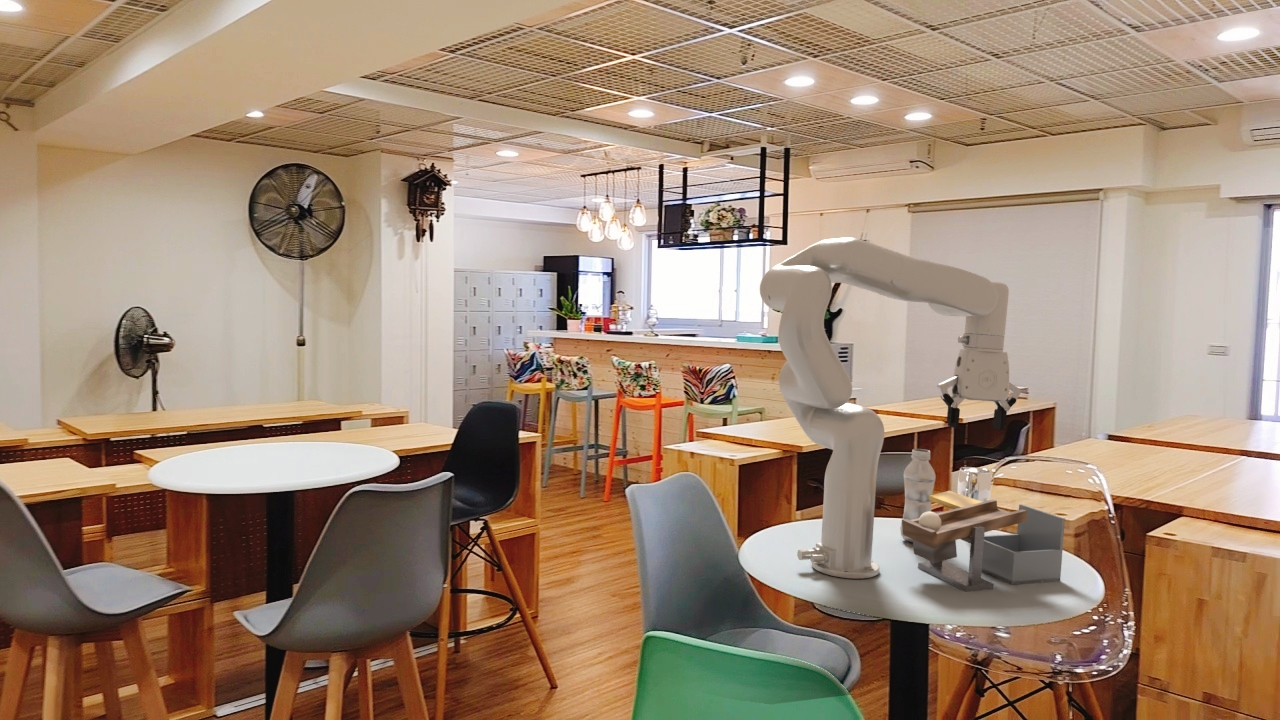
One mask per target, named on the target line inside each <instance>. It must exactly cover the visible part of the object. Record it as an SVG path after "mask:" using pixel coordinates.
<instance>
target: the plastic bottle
mask: <svg viewBox="0 0 1280 720" xmlns="http://www.w3.org/2000/svg"><path fill="white" fill-rule="evenodd" d="M910 457H911V459H912V460H911V461H910V462H909V463H908V465H906V467H905V469H904V471H903V484H904V485H903V486H904V497H905V498H904V508H903V516H902V519H908V520H913V519H917V518H920V516H921V515H922V514H923V513H925V512H929V511H930V512H932V501H930V500H929V495H933V491H934V488H935V482H936V477H937V476H936V473H935V470H934V468H933V467H932V465H931V463H930V462H929V461H930V460H931V451H930V449H929V450H928V449H922V448H914V449H912V451H911V455H910ZM899 529H900V535H901V537H902V539H903V540H905V541H907V542H910V543H913V539H911V538H909V537H907V536H904V535H903V529H902V521H901V523H900V528H899Z"/></svg>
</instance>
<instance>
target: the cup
mask: <svg viewBox="0 0 1280 720" xmlns="http://www.w3.org/2000/svg"><path fill="white" fill-rule="evenodd" d="M1018 505H1019V506H1018V510H1022V509H1023V510H1026V511H1027V521H1025V522H1022V523H1018V524H1017V532H1016V533H1012V534H1010V533H1009V534H995V535H994V534H992V535H985V536H984V545H983V559H982V572H983V573H984V574H986V575H987V574H988V575H990V576H992V577H994V578H996V579H998V580H1000V581H1002V582H1005V583H1008V584H1010V585H1025V584H1026V585H1027V584H1037V583H1038V584H1039V583H1050V582H1051V583H1052V582H1061V576H1062V574H1061V573H1062V561H1063V550H1064V539H1065V538H1064V535H1065V534H1064V533H1065V522H1066V518H1064V517H1062V516H1059V515H1056V514H1052V513H1048V512H1046V511H1043V510H1040V509H1037V508H1034V507H1031V506H1027V505H1025V504H1018Z"/></svg>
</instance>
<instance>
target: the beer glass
mask: <svg viewBox="0 0 1280 720" xmlns="http://www.w3.org/2000/svg"><path fill="white" fill-rule="evenodd" d="M958 473H959V474H958V479H957V490H956V491H957V492H956V493H958V494H961V495H964V496H966V497H969V498H972V499H975V500H978V501H981V502H985V501H989V500H991V495H992V494H991V493H992V471H991V470H989V469H987V468H982V467H972V466H962V467H960V468H959V472H958ZM984 536H986V532H984Z"/></svg>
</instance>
